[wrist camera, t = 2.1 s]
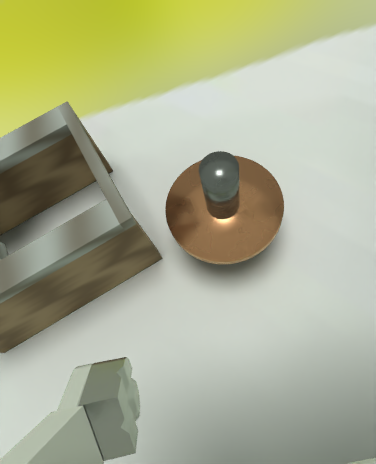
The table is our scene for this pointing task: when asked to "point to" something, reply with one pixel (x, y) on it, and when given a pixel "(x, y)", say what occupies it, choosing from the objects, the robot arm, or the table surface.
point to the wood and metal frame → (61, 227)
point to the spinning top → (224, 209)
